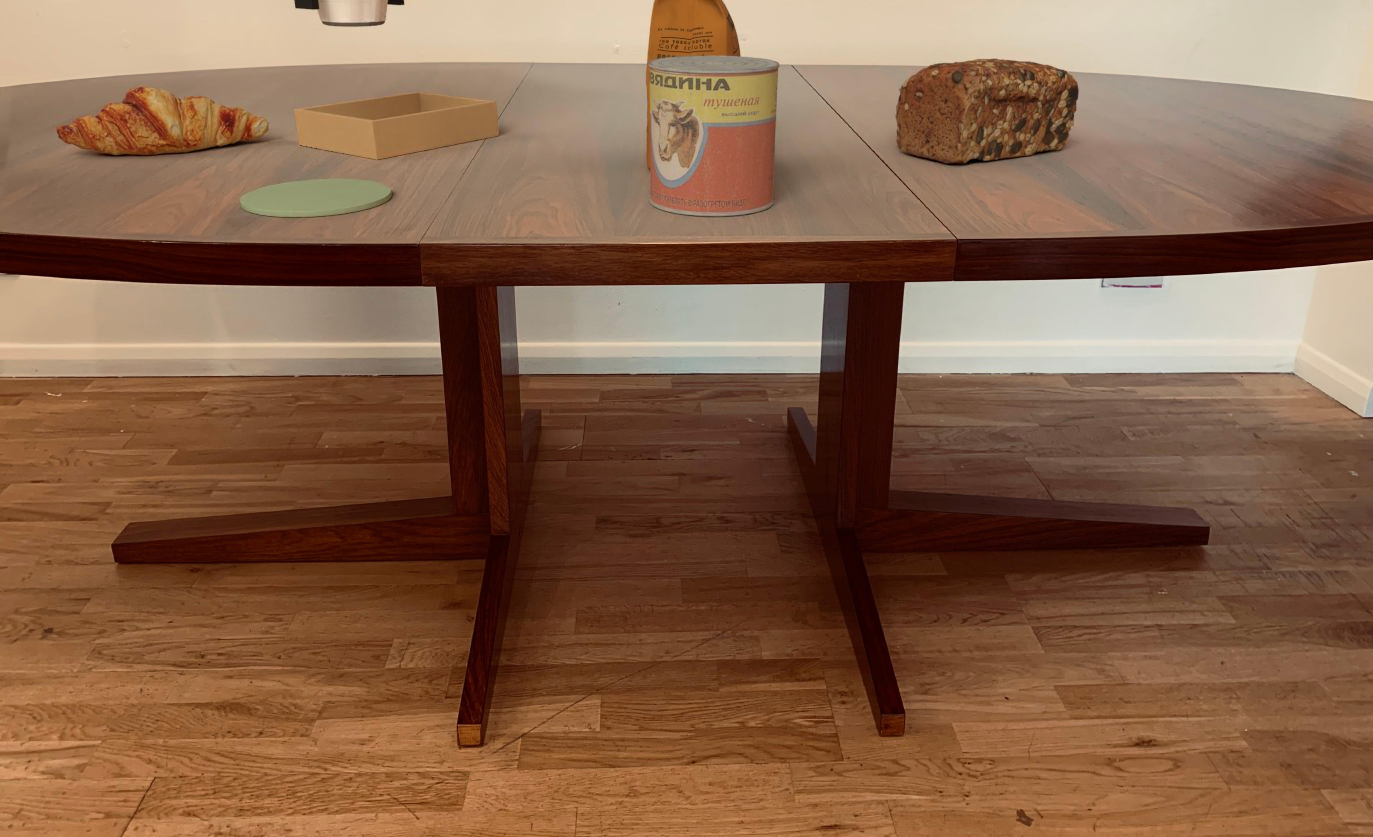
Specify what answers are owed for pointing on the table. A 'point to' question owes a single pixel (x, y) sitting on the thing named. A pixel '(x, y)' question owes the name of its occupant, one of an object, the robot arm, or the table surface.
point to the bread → (985, 110)
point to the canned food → (712, 134)
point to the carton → (396, 124)
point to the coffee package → (688, 35)
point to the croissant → (161, 125)
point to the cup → (352, 12)
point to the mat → (315, 197)
